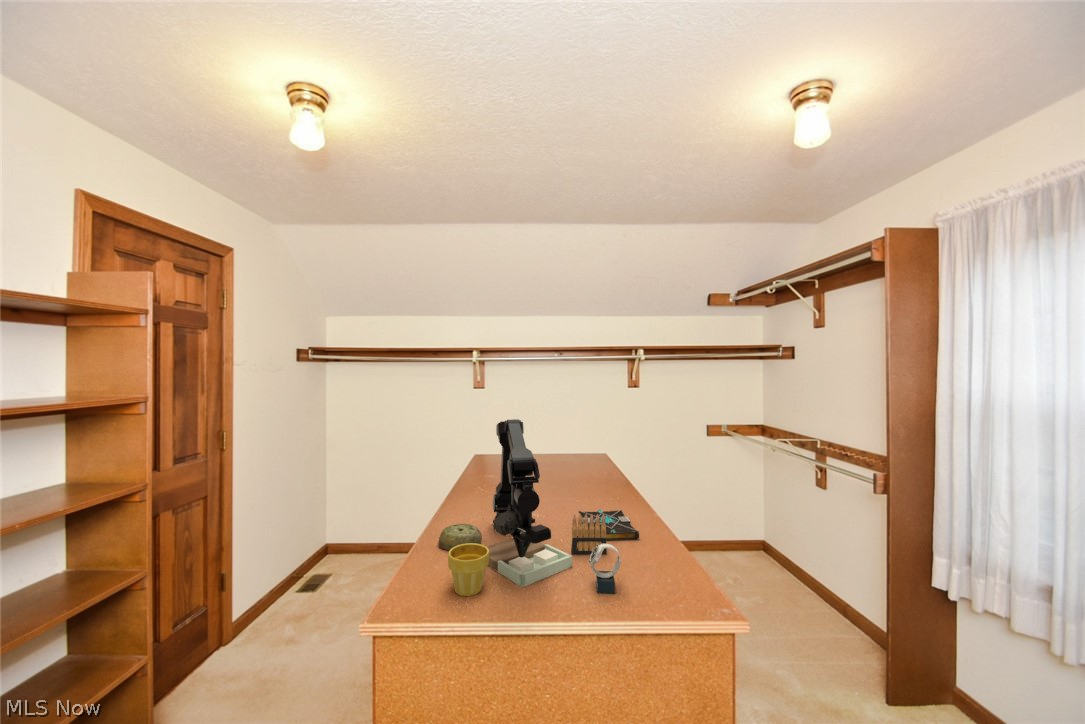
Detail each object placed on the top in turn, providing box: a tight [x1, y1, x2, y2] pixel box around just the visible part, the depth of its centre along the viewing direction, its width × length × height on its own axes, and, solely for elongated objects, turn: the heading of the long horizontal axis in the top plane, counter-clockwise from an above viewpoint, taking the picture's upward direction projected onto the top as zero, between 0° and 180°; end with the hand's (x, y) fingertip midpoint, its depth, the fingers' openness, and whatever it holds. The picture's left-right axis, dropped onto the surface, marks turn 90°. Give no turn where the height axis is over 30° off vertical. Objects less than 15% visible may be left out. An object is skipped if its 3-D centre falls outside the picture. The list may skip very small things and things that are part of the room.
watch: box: [588, 543, 622, 595], centre depth 112 cm, size 6×8×11 cm
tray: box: [497, 543, 573, 588], centre depth 122 cm, size 11×18×3 cm, turn 130°
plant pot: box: [447, 543, 489, 597], centre depth 111 cm, size 10×10×10 cm
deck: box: [486, 538, 545, 573], centre depth 130 cm, size 11×18×2 cm, turn 130°
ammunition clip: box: [570, 513, 608, 556], centre depth 133 cm, size 11×2×12 cm, turn 91°
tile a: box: [534, 549, 558, 565], centre depth 126 cm, size 5×5×2 cm
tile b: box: [509, 557, 534, 573], centre depth 121 cm, size 5×5×2 cm
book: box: [577, 508, 640, 541], centre depth 153 cm, size 22×17×5 cm
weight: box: [438, 523, 483, 552], centre depth 140 cm, size 14×14×5 cm
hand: (521, 557), depth 121 cm, fingers closed
